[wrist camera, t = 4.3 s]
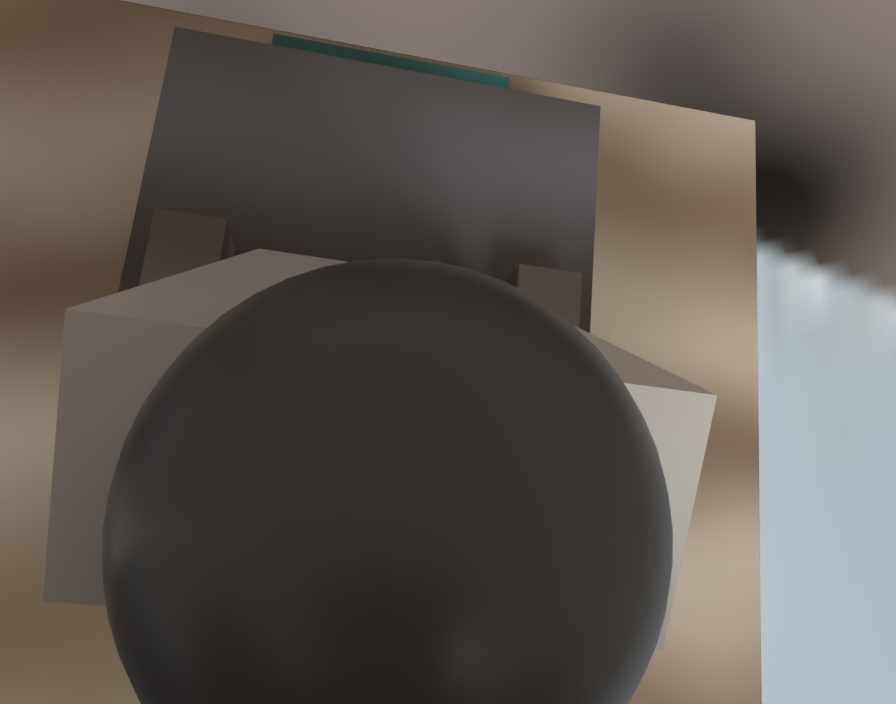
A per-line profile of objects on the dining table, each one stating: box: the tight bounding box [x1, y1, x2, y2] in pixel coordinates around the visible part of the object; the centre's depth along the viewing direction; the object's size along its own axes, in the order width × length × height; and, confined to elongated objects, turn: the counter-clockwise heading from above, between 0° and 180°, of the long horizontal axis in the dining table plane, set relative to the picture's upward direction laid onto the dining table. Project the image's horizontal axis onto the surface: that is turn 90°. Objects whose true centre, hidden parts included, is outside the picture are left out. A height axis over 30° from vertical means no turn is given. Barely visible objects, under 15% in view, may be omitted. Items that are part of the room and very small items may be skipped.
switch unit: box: [0, 0, 762, 704], centre depth 16 cm, size 16×20×5 cm
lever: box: [43, 249, 717, 704], centre depth 8 cm, size 3×4×11 cm
